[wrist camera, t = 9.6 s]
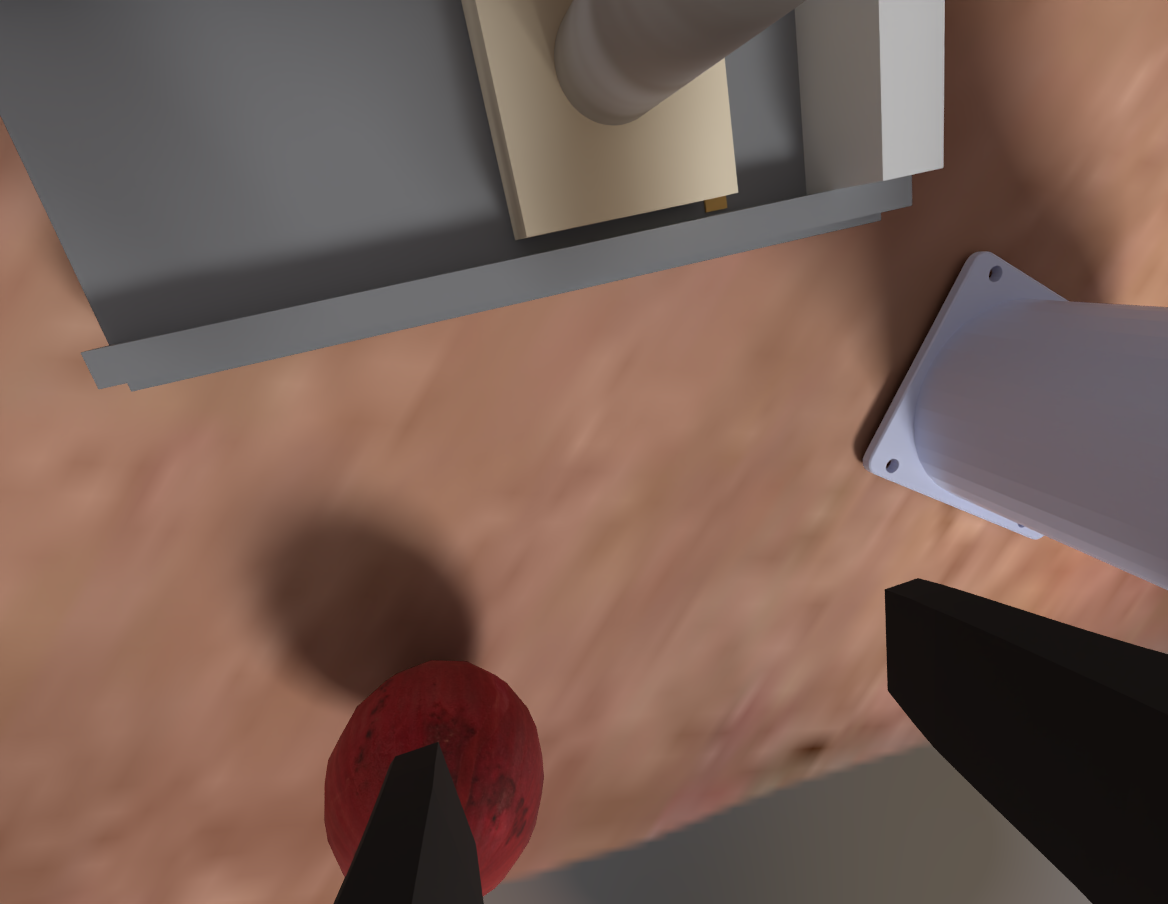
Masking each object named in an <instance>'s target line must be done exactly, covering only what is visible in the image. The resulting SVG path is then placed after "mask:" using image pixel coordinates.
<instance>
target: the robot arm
mask: <svg viewBox="0 0 1168 904" xmlns="http://www.w3.org/2000/svg"><path fill="white" fill-rule="evenodd" d="M991 269H992V274H991V277H990V278H989V273H990V270H991ZM889 460H891V463H890V465H889V467H888V468H886V465H887V463H888V462H889ZM863 466H864V468H865V469H866V470H867V471H869V472H871V473H873V474H875V475H878V476H880V477H883V478H885V479H888V480H890V481H892V482H895V483H897V484H900V485H902V486H905V487H907V488H909V489H912V490H914V491H917V492H919V493H922V494H924V495H926V496H929V497H931V498H934V499H936V500H939V501H941V502H943V503H946V504H948V505H951V506H953V507H956V508H958V509H960V510H963V511H965V512H968V513H970V514H973V515H975V516H977V517H980V518H982V519H985V520H987V521H990V522H992V523H995V524H997V525H999V526H1002V527H1004V528H1007V529H1009V530H1012V531H1014V532H1016V533H1019V534H1021V535H1024V536H1026V537H1029V538H1031V539H1039V538H1041V537H1043V536H1044V535H1045V536H1047V537H1049V538H1052V539H1054V540H1056V541H1058V542H1061V543H1063V544H1065V545H1067V546H1070V547H1072V548H1074V549H1076V550H1079V551H1081V552H1083V553H1085V554H1088V555H1090V556H1092V557H1094V558H1097V559H1099V560H1101V561H1103V562H1106V563H1108V564H1110V565H1112V566H1115V567H1117V568H1119V569H1121V570H1123V571H1126V572H1128V573H1130V574H1132V575H1135V576H1137V577H1139V578H1141V579H1144V580H1146V581H1148V582H1150V583H1153V584H1155V585H1157V586H1159V587H1162V588H1164V589H1166V590H1168V307H1154V306H1137V305H1121V304H1104V303H1088V302H1071V301H1068V300H1066V299H1065V298H1063V297H1061V296H1060V295H1058V294H1057V293H1055V292H1054V291H1052V290H1050V289H1049V288H1047V287H1046V286H1044V285H1042V284H1041V283H1039V282H1038V281H1036V280H1034V279H1033V278H1031V277H1030V276H1028V275H1027V274H1025V273H1023V272H1022V271H1020V270H1019V269H1017V268H1015V267H1014V266H1012V265H1011V264H1009V263H1007V262H1006V261H1004V260H1003V259H1001V258H1000V257H998V256H996V255H995V254H993V253H991V252H988V251H981V252H975V253H973V254H972V255H970V256H969V258H968V259H967V260H966V262H965V264H964V266H963V268H962V270H961V272H960V273H959V275H958V277H957V279H956V281H955V283H954V285H953V287H952V289H951V291H950V292H949V294H948V296H947V298H946V300H945V302H944V304H943V306H942V308H941V310H940V312H939V313H938V315H937V317H936V319H935V321H934V323H933V325H932V327H931V329H930V331H929V332H928V334H927V336H926V338H925V340H924V342H923V344H922V346H921V348H920V350H919V352H918V353H917V355H916V357H915V359H914V361H913V363H912V365H911V367H910V369H909V371H908V372H907V374H906V376H905V378H904V380H903V382H902V384H901V386H900V388H899V390H898V392H897V393H896V395H895V397H894V399H893V401H892V403H891V405H890V407H889V409H888V411H887V412H886V414H885V416H884V418H883V420H882V422H881V424H880V426H879V428H878V430H877V432H876V433H875V435H874V437H873V439H872V441H871V443H870V445H869V447H868V449H867V451H866V452H865V455H864V457H863ZM885 613H886V647H887V681H888V691H889V693H890V694H891V695H892V697H893V698H894V699H895V700H896V702H897V703H898V704H899V705H900V707H901V708H902V709H903V710H904V712H905V713H906V714H907V716H908V717H909V718H910V719H911V721H912V722H913V723H914V724H915V725H916V727H917V728H918V729H919V730H920V731H921V733H922V734H923V735H924V736H925V737H926V738H927V740H928V741H929V742H930V743H931V744H932V746H933V747H934V748H935V749H936V750H937V751H938V752H939V753H940V754H941V755H942V756H943V757H944V758H945V759H946V760H947V761H948V762H949V763H950V764H951V765H952V766H953V767H954V768H955V769H956V770H957V771H958V772H959V773H960V774H961V775H962V776H963V777H964V778H965V779H966V780H967V781H968V782H969V783H970V784H971V785H972V786H973V787H974V788H975V789H976V790H977V791H978V792H979V793H980V794H982V796H983V797H984V798H985V799H987V800H988V801H989V802H990V803H991V804H992V805H993V806H994V807H995V808H996V809H997V810H998V811H999V812H1000V813H1001V814H1002V815H1003V816H1004V817H1005V818H1006V819H1007V820H1008V821H1009V822H1010V823H1011V824H1012V825H1013V826H1014V827H1015V828H1016V829H1017V830H1018V831H1019V832H1021V834H1023V836H1025V837H1026V838H1027V839H1028V840H1029V841H1030V842H1031V843H1032V844H1033V845H1034V846H1035V847H1036V848H1037V849H1038V850H1039V851H1040V852H1041V853H1042V854H1043V855H1044V856H1045V857H1046V858H1047V859H1048V860H1049V861H1050V862H1051V863H1052V864H1053V865H1054V866H1055V867H1056V868H1057V869H1058V870H1059V871H1061V872H1062V873H1063V874H1064V875H1065V876H1066V877H1067V878H1068V879H1069V880H1070V881H1071V882H1072V883H1073V884H1074V885H1075V886H1076V887H1077V888H1078V889H1079V890H1080V891H1081V892H1082V893H1083V894H1084V895H1085V896H1086V897H1087V899H1088V900H1089V901H1090V902H1091V903H1092V904H1168V654H1165V653H1162V652H1158V651H1154V650H1151V649H1147V648H1144V647H1140V646H1137V645H1133V644H1130V643H1127V642H1123V641H1120V640H1117V639H1113V638H1110V637H1106V636H1103V635H1100V634H1097V633H1093V632H1090V631H1087V630H1084V629H1080V628H1077V627H1074V626H1071V625H1068V624H1065V623H1061V622H1058V621H1055V620H1052V619H1049V618H1046V617H1043V616H1039V615H1036V614H1033V613H1030V612H1027V611H1024V610H1021V609H1018V608H1015V607H1011V606H1008V605H1005V604H1002V603H999V602H996V601H993V600H990V599H987V598H984V597H980V596H977V595H974V594H971V593H968V592H964V591H961V590H958V589H955V588H951V587H948V586H945V585H941V584H938V583H934V582H930V581H927V580H923V579H919V578H917V579H914V580H911V581H908V582H905V583H902V584H900V585H897V586H894V587H891V588H888V589H885ZM334 904H484V903H483V895H482V886H481V879H480V871H479V864H478V856H477V848H476V843H475V840H474V837H473V834H472V832H471V829H470V826H469V824H468V821H467V818H466V815H465V813H464V810H463V807H462V805H461V802H460V799H459V796H458V794H457V791H456V788H455V786H454V783H453V780H452V777H451V775H450V772H449V769H448V767H447V764H446V761H445V758H444V756H443V753H442V750H441V748H440V745H439V742H436V743H433V744H430V745H427V746H424V747H421V748H418V749H416V750H413V751H410V752H407V753H404V754H401V755H398V756H395V758H394V759H393V761H392V762H391V764H390V765H389V768H388V771H387V774H386V776H385V779H384V782H383V784H382V787H381V790H380V792H379V795H378V798H377V800H376V803H375V805H374V808H373V811H372V813H371V816H370V818H369V821H368V823H367V826H366V828H365V831H364V833H363V836H362V838H361V841H360V843H359V846H358V848H357V850H356V853H355V855H354V858H353V860H352V863H351V865H350V867H349V869H348V872H347V874H346V876H345V879H344V881H343V883H342V886H341V888H340V890H339V892H338V895H337V897H336V899H335V902H334Z"/></svg>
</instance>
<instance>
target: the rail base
mask: <svg viewBox="0 0 1168 904" xmlns="http://www.w3.org/2000/svg"><path fill="white" fill-rule="evenodd" d="M944 32H945V0H806V1H804V2H803V3H802V4H800V5H799V6H798V7H796V8H795V9H793V10H792V11H790V12H789V13H788V14H786V15H785V16H783V17H782V18H780V19H779V20H778V21H776V22H775V23H773V24H772V25H771V26H769V27H768V28H766V29H765V30H763V31H762V32H761V33H759V34H758V35H756V36H755V37H753V38H752V39H751V40H749V41H748V42H746V43H745V44H743V45H742V46H741V47H739V48H738V49H736V50H735V51H733V52H732V53H731V54H729V55H728V56H726V57H725V66H726V76H727V86H728V96H729V106H730V116H731V126H732V136H733V146H734V155H735V165H736V175H737V185H738V193H734V194H730V195H726V196H721V197H717V198H713V199H708V200H704V201H699V202H695V203H690V204H685V205H681V206H676V207H671V208H666V209H662V210H657V211H652V212H647V213H643V214H638V215H633V216H628V217H624V218H619V219H614V220H609V221H605V222H600V223H595V224H590V225H586V226H581V227H576V228H572V229H567V230H562V231H557V232H553V233H548V234H543V235H538V236H534V237H529V238H524V239H519V240H515V237H514V233H513V229H512V224H511V220H510V215H509V211H508V206H507V202H506V197H505V193H504V189H503V184H502V180H501V175H500V171H499V166H498V162H497V158H496V153H495V149H494V144H493V140H492V135H491V131H490V126H489V122H488V118H487V113H486V109H485V104H484V100H483V95H482V91H481V87H480V82H479V78H478V73H477V69H476V64H475V60H474V55H473V51H472V47H471V42H470V38H469V33H468V29H467V24H466V20H465V16H464V11H463V7H462V2H461V0H0V116H1V118H2V120H3V122H4V124H5V126H6V128H7V130H8V132H9V135H10V137H11V139H12V141H13V143H14V145H15V147H16V149H17V151H18V154H19V156H20V158H21V160H22V162H23V164H24V166H25V168H26V170H27V173H28V175H29V177H30V179H31V181H32V183H33V185H34V187H35V189H36V192H37V194H38V196H39V198H40V200H41V202H42V204H43V206H44V208H45V211H46V213H47V215H48V217H49V219H50V221H51V223H52V225H53V227H54V229H55V232H56V234H57V236H58V238H59V240H60V242H61V244H62V246H63V248H64V251H65V253H66V255H67V257H68V259H69V261H70V263H71V265H72V267H73V270H74V272H75V274H76V276H77V278H78V280H79V282H80V284H81V286H82V289H83V291H84V293H85V295H86V297H87V299H88V301H89V303H90V305H91V308H92V310H93V312H94V314H95V316H96V318H97V320H98V322H99V324H100V327H101V329H102V331H103V333H104V335H105V337H106V339H107V341H108V343H109V346H105V347H101V348H97V349H93V350H89V351H85V352H81V355H82V357H83V359H84V361H85V363H86V365H87V367H88V369H89V371H90V373H91V375H92V377H93V379H94V381H95V383H96V385H97V387H98V389H102V388H107V387H111V386H116V385H120V384H125V383H128V386H129V388H130V390H131V392H132V391H136V390H140V389H145V388H149V387H154V386H158V385H162V384H167V383H171V382H175V381H180V380H184V379H189V378H193V377H197V376H202V375H206V374H211V373H215V372H219V371H224V370H228V369H232V368H237V367H241V366H246V365H250V364H254V363H259V362H263V361H267V360H272V359H276V358H281V357H285V356H289V355H294V354H298V353H302V352H307V351H311V350H316V349H320V348H324V347H329V346H333V345H338V344H342V343H346V342H351V341H355V340H359V339H364V338H368V337H373V336H377V335H381V334H386V333H390V332H394V331H399V330H403V329H408V328H412V327H416V326H421V325H425V324H429V323H434V322H438V321H443V320H447V319H451V318H456V317H460V316H465V315H469V314H473V313H478V312H482V311H486V310H491V309H495V308H500V307H504V306H508V305H513V304H517V303H521V302H526V301H530V300H535V299H539V298H543V297H548V296H552V295H556V294H561V293H565V292H570V291H574V290H578V289H583V288H587V287H592V286H596V285H600V284H605V283H609V282H613V281H618V280H622V279H627V278H631V277H635V276H640V275H644V274H648V273H653V272H657V271H662V270H666V269H670V268H675V267H679V266H683V265H688V264H692V263H697V262H701V261H705V260H710V259H714V258H719V257H723V256H727V255H732V254H736V253H740V252H745V251H749V250H754V249H758V248H762V247H767V246H771V245H775V244H780V243H784V242H789V241H793V240H797V239H802V238H806V237H810V236H815V235H819V234H824V233H828V232H832V231H837V230H841V229H845V228H850V227H854V226H859V225H863V224H867V223H872V222H876V221H881V212H886V211H890V210H895V209H899V208H903V207H908V206H912V175H913V174H918V173H922V172H927V171H931V170H936V169H941V168H943V157H944Z"/></svg>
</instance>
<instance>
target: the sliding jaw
mask: <svg viewBox="0 0 1168 904" xmlns="http://www.w3.org/2000/svg"><path fill="white" fill-rule="evenodd" d="M804 1H806V0H461V2H462V7H463V11H464V16H465V20H466V24H467V29H468V33H469V38H470V42H471V47H472V51H473V55H474V60H475V64H476V69H477V73H478V78H479V82H480V87H481V91H482V95H483V100H484V104H485V109H486V113H487V118H488V122H489V126H490V131H491V135H492V140H493V144H494V149H495V153H496V158H497V162H498V166H499V171H500V175H501V180H502V184H503V189H504V193H505V197H506V202H507V206H508V211H509V215H510V220H511V224H512V229H513V233H514V237H515V240H519V239H524V238H529V237H534V236H538V235H543V234H548V233H553V232H557V231H562V230H567V229H572V228H576V227H581V226H586V225H590V224H595V223H600V222H605V221H609V220H614V219H619V218H624V217H628V216H633V215H638V214H643V213H647V212H652V211H657V210H662V209H666V208H671V207H676V206H681V205H685V204H690V203H695V202H699V201H704V200H708V199H713V198H717V197H721V196H726V195H730V194H734V193H738V185H737V175H736V165H735V155H734V146H733V136H732V126H731V116H730V106H729V96H728V86H727V76H726V66H725V57H726V56H728V55H729V54H731V53H732V52H733V51H735V50H736V49H738V48H739V47H741V46H742V45H743V44H745V43H746V42H748V41H749V40H751V39H752V38H753V37H755V36H756V35H758V34H759V33H761V32H762V31H763V30H765V29H766V28H768V27H769V26H771V25H772V24H773V23H775V22H776V21H778V20H779V19H780V18H782V17H783V16H785V15H786V14H788V13H789V12H790V11H792V10H793V9H795V8H796V7H798V6H799V5H800V4H802V3H803V2H804Z"/></svg>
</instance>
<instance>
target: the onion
mask: <svg viewBox="0 0 1168 904" xmlns="http://www.w3.org/2000/svg"><path fill="white" fill-rule="evenodd" d="M436 742H439V745H440V748H441V750H442V753H443V756H444V758H445V761H446V764H447V767H448V769H449V772H450V775H451V777H452V780H453V783H454V786H455V788H456V791H457V794H458V796H459V799H460V802H461V805H462V807H463V810H464V813H465V815H466V818H467V821H468V824H469V826H470V829H471V832H472V834H473V837H474V840H475V843H476V848H477V856H478V864H479V871H480V879H481V886H482V895H483V896H484V895H486V894H487V893H489V892H490V891H492V890H493V889H495V887H496V886H497V885H498V884H499V883H500V882H501V881H502V880H503V879H504V878H505V876H506V875H507V873H508V872H509V871H510V869H511V868H512V866H513V865H514V863H515V862H516V861H517V859H518V858H519V856H520V855H521V853H522V852H523V850H524V849H525V847H526V845H527V844H528V842H529V840H530V837H531V835H532V832H533V830H534V827H535V824H536V820H537V815H538V810H539V805H540V800H541V794H542V787H543V780H544V772H543V760H542V752H541V748H540V743H539V738H538V733H537V729H536V725H535V723H534V721H533V719H532V717H531V715H530V712H529V710H528V708H527V707H526V705H525V704H524V703H523V702H522V701H521V699H520V698H519V697H518V696H517V695H516V694H515V692H514V691H513V690H512V689H511V688H510V686H509V685H508V684H507V683H506V682H504V681H503V680H501V679H500V678H499V677H497V676H496V675H494V674H492V673H490V672H488V671H486V670H484V669H482V668H480V667H477V666H475V665H473V664H471V663H469V662H467V661H439V660H430V661H428V662H425V663H422V664H420V665H417V666H415V667H412V668H410V669H407V670H404V671H402V672H399V673H397V674H395V675H394V676H392V677H391V678H389V679H388V680H387V681H385V682H384V683H383V684H382V685H381V686H380V687H379V688H378V689H376V690H375V691H374V692H373V693H372V694H371V695H370V696H369V697H368V698H366V699H365V700H364V701H363V702H362V703H361V704H360V705H359V706H357V708H356V710H355V711H354V713H353V715H352V717H351V718H350V720H349V722H348V724H347V726H346V727H345V729H344V731H343V733H342V735H341V736H340V738H339V740H338V742H337V744H336V746H335V748H334V750H333V752H332V754H331V756H330V758H329V760H328V765H327V771H326V778H325V813H324V821H325V827H326V833H327V839H328V842H329V845H330V847H331V849H332V851H333V853H334V856H335V858H336V860H337V862H338V864H339V866H340V868H341V871H342V873H343V875H344V876H346V874H347V872H348V869H349V867H350V865H351V863H352V860H353V858H354V855H355V853H356V850H357V848H358V846H359V843H360V841H361V838H362V836H363V833H364V831H365V828H366V826H367V823H368V821H369V818H370V816H371V813H372V811H373V808H374V805H375V803H376V800H377V798H378V795H379V792H380V790H381V787H382V784H383V782H384V779H385V776H386V774H387V771H388V768H389V765H390V764H391V762H392V761H393V759H394V758H395V756H398V755H401V754H404V753H407V752H410V751H413V750H416V749H418V748H421V747H424V746H427V745H430V744H433V743H436Z"/></svg>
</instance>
